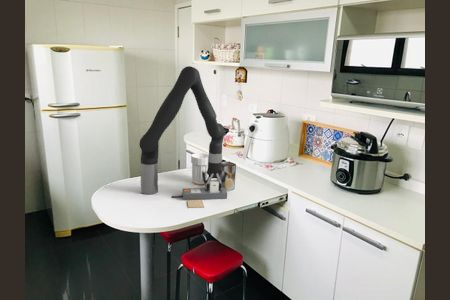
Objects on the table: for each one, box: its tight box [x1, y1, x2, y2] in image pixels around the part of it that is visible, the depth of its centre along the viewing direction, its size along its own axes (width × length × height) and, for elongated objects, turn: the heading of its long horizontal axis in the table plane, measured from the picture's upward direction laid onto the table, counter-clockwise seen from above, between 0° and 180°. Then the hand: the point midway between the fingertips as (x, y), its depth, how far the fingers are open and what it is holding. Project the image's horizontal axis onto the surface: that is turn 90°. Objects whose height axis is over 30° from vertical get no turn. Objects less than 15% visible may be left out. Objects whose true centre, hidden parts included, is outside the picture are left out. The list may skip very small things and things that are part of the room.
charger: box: [209, 179, 219, 193], centre depth 179 cm, size 5×5×7 cm
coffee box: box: [216, 161, 237, 193], centre depth 189 cm, size 9×6×16 cm
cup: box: [190, 152, 209, 186], centre depth 198 cm, size 11×11×17 cm
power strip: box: [171, 187, 228, 201], centre depth 179 cm, size 30×8×4 cm, turn 102°
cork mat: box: [186, 200, 205, 209], centre depth 170 cm, size 8×8×1 cm
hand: (213, 189), depth 180 cm, fingers open, 5 cm apart
